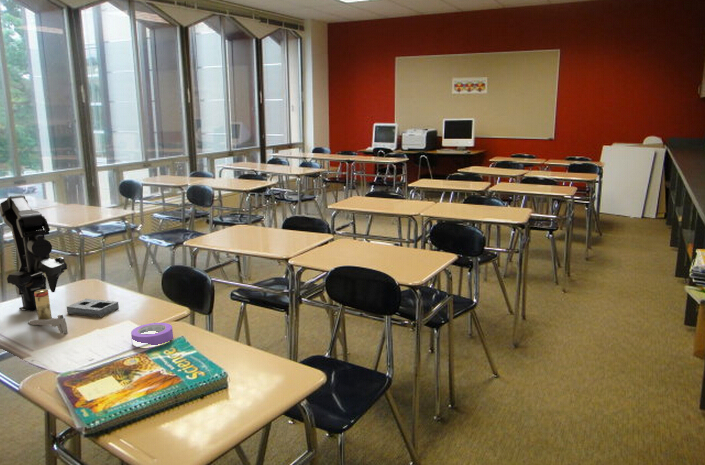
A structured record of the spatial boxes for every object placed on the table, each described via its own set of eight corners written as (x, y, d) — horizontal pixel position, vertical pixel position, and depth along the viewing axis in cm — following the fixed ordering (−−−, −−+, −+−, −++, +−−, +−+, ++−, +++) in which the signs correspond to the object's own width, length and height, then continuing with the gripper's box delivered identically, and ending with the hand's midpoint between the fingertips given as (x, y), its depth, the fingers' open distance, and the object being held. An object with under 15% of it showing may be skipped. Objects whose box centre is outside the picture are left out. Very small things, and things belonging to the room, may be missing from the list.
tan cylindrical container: (35, 320, 179) (31, 292, 177) (45, 316, 183) (41, 288, 181) (44, 322, 178) (40, 293, 176) (54, 317, 182) (50, 289, 180)
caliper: (68, 334, 168) (65, 315, 167) (64, 335, 167) (62, 316, 166) (31, 322, 178) (28, 305, 177) (27, 324, 177) (25, 306, 176)
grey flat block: (67, 313, 186) (66, 306, 185) (87, 304, 194) (86, 298, 193) (100, 317, 181) (99, 310, 181) (118, 308, 190) (118, 301, 189)
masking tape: (138, 334, 167) (137, 323, 166) (176, 332, 168) (175, 321, 167) (127, 350, 155) (125, 338, 154) (168, 348, 156) (167, 335, 156)
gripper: (29, 260, 164) (36, 308, 168) (77, 246, 182) (82, 289, 185) (2, 257, 168) (9, 304, 171) (51, 244, 185) (57, 287, 188)
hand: (41, 296), depth 179 cm, fingers open, 9 cm apart
